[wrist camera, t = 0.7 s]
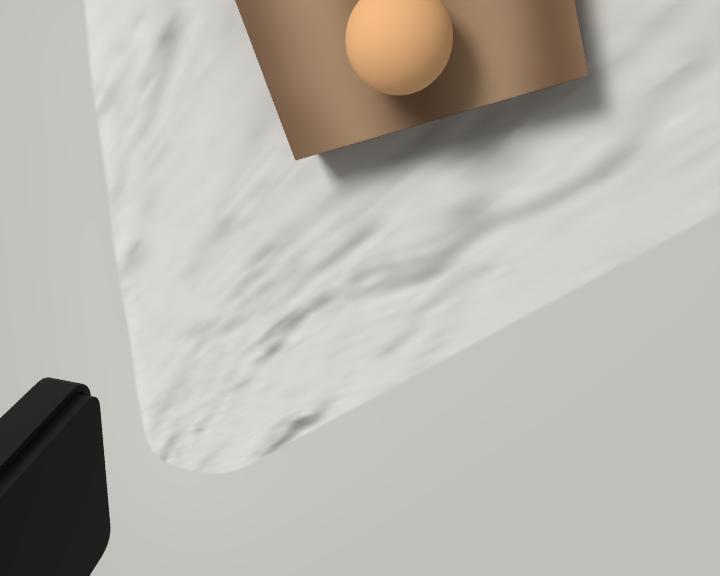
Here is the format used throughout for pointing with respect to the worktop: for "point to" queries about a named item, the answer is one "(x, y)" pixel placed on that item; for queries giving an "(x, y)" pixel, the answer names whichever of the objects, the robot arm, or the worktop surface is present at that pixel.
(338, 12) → the board
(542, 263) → the worktop surface
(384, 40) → the ball
